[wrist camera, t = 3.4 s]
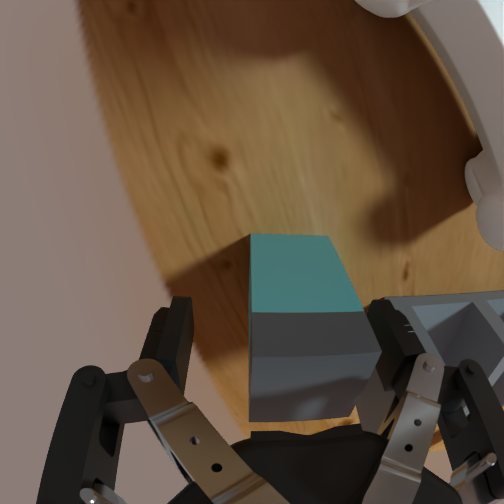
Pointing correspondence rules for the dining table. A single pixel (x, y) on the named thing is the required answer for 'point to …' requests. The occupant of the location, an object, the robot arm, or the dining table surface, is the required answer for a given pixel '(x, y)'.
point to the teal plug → (304, 331)
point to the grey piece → (446, 342)
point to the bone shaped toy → (470, 87)
